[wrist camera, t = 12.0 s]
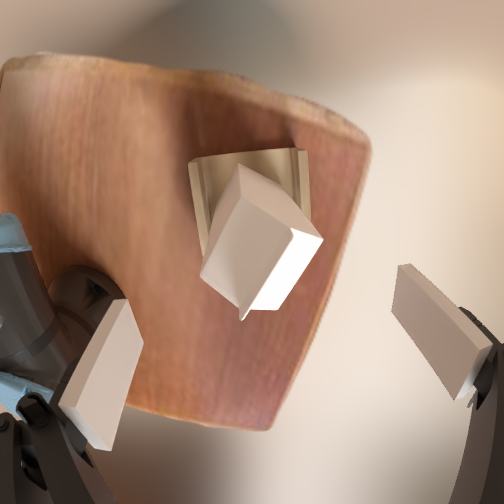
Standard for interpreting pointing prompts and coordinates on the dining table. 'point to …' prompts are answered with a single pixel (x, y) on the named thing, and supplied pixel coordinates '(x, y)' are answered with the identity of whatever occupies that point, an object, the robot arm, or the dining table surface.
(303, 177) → the u rest
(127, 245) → the dining table surface
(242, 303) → the milk
